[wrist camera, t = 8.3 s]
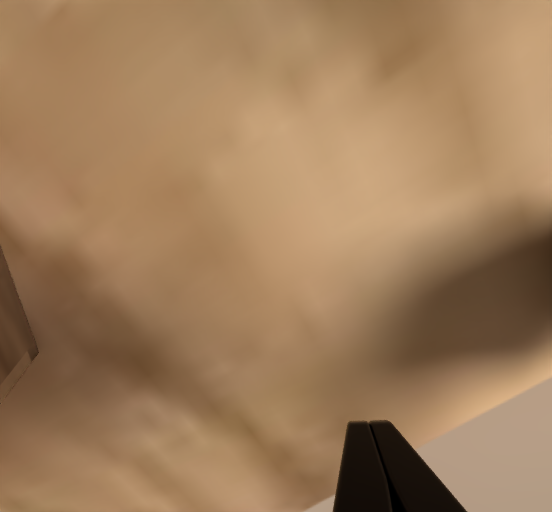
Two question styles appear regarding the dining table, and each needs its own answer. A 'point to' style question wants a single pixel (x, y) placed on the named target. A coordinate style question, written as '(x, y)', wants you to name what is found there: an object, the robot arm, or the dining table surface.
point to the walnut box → (12, 334)
